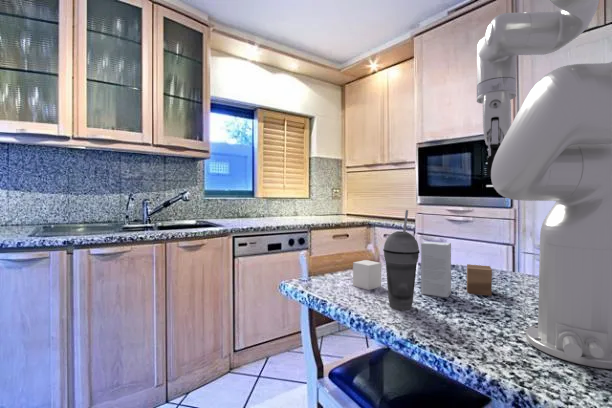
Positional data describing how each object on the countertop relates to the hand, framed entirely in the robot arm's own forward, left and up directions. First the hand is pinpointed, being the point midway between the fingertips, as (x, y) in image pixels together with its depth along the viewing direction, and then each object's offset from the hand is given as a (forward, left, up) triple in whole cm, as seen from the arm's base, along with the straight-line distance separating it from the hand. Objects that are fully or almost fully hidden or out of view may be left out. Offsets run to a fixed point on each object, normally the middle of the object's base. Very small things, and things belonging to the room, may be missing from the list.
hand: (495, 175), depth 72 cm
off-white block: (-6, +28, -28) cm, 39 cm away
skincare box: (-3, +12, -28) cm, 30 cm away
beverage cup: (-17, +15, -28) cm, 36 cm away
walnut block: (+5, +4, -28) cm, 28 cm away
